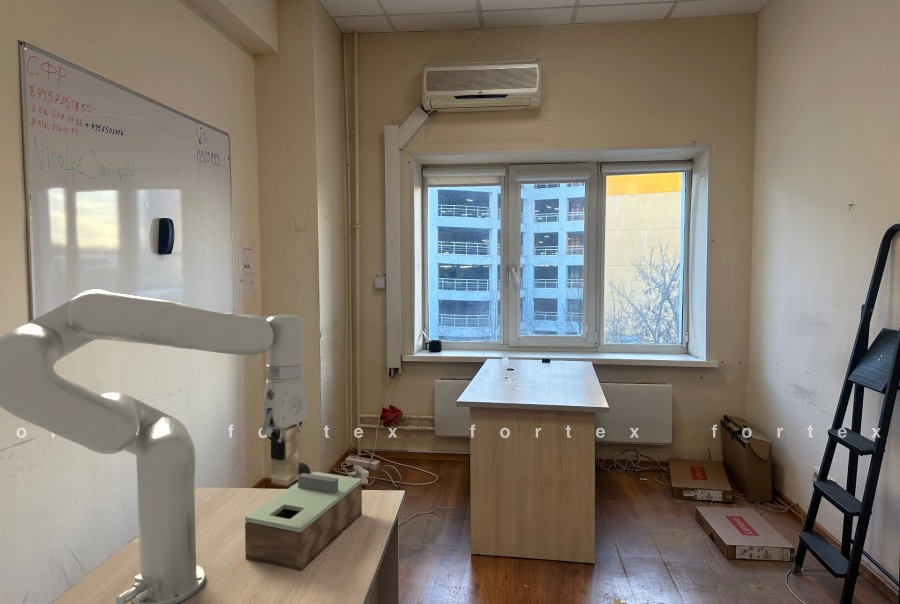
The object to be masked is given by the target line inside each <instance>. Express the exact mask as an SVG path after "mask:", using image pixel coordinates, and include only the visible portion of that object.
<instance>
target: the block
mask: <svg viewBox="0 0 900 604" xmlns="http://www.w3.org/2000/svg"><path fill="white" fill-rule="evenodd" d="M278 431H279V430H275V432H276V433H277V434H278ZM283 441H285V459H284V460H276V459H272V458H271V457H270V459H271V462H270V463H271V465H270V467H271V469H270V470H271V472H270V474H271V484H275V485H282V486H289V485H291V484H292V482H294V481H295V480H297V479H298V463H299V434H298V425H293V426H290V427H288V428H286V429H284V435H283Z"/></svg>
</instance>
